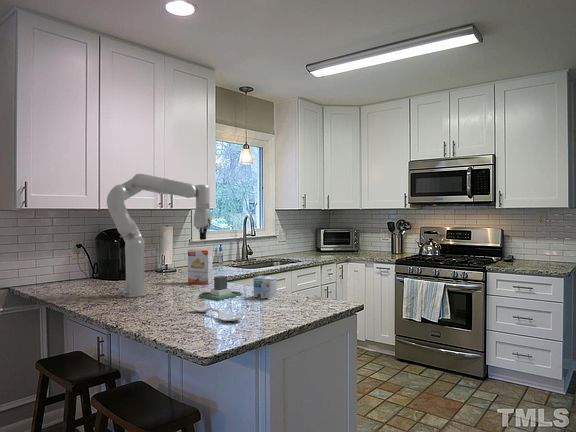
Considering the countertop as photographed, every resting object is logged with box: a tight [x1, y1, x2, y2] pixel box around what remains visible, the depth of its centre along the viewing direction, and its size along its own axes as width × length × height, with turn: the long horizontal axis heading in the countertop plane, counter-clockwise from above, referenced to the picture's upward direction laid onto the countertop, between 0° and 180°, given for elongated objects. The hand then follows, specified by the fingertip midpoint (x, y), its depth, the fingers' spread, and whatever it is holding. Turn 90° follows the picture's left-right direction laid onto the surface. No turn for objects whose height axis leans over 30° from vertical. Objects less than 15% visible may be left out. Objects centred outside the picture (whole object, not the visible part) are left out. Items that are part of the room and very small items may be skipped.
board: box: [198, 287, 243, 301], centre depth 231 cm, size 16×16×4 cm
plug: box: [213, 275, 228, 290], centre depth 231 cm, size 6×4×9 cm, turn 141°
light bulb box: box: [253, 275, 278, 299], centre depth 228 cm, size 11×7×11 cm, turn 62°
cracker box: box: [187, 248, 213, 285], centre depth 268 cm, size 14×6×21 cm, turn 73°
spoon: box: [187, 302, 243, 322], centre depth 191 cm, size 9×32×4 cm, turn 44°
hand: (202, 239), depth 244 cm, fingers closed
